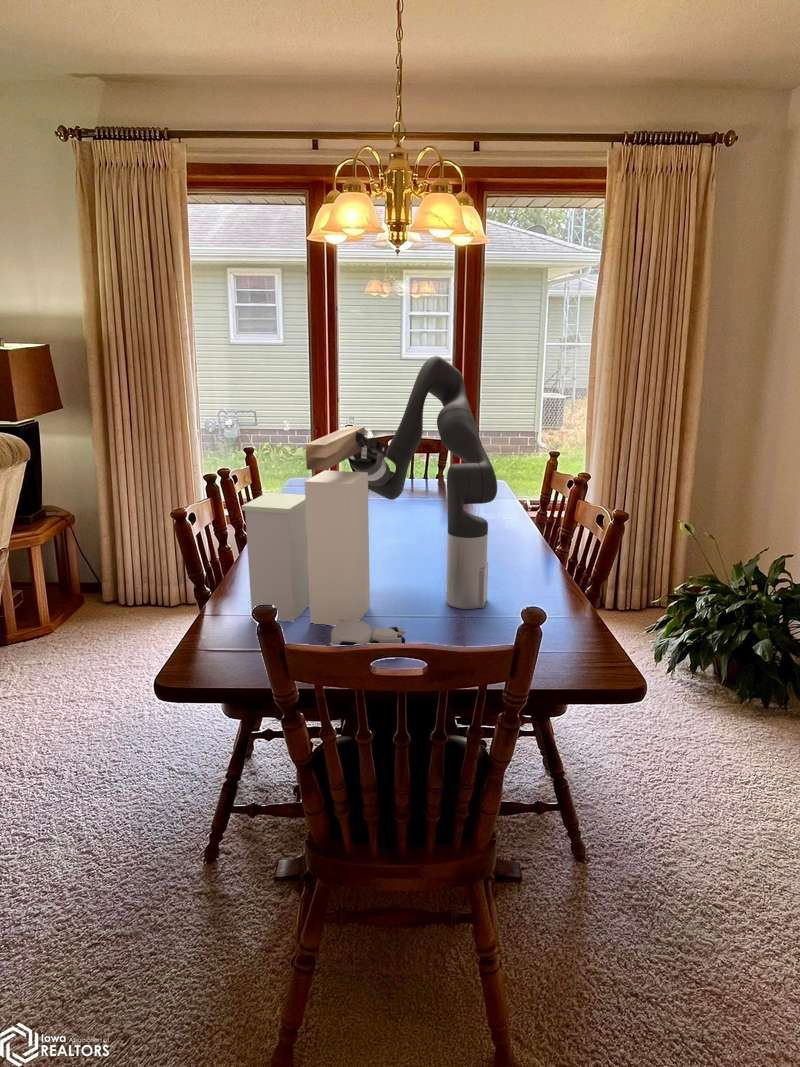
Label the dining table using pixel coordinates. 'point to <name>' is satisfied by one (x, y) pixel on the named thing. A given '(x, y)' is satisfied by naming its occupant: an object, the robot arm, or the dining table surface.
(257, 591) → the low stand
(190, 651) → the dining table surface
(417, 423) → the robot arm
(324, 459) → the wooden bar
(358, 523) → the tall stand
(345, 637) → the robot toy
